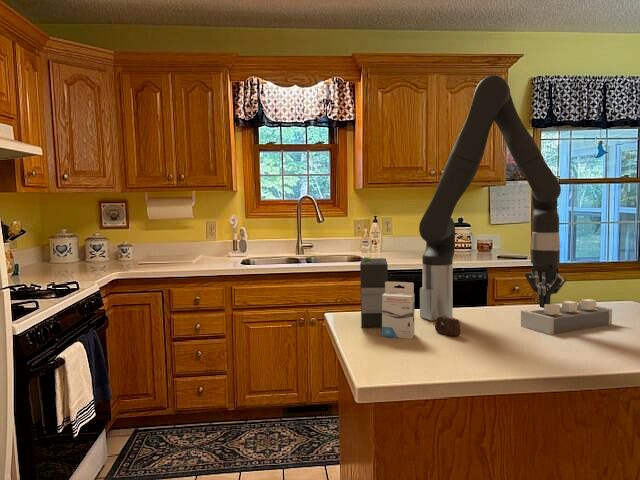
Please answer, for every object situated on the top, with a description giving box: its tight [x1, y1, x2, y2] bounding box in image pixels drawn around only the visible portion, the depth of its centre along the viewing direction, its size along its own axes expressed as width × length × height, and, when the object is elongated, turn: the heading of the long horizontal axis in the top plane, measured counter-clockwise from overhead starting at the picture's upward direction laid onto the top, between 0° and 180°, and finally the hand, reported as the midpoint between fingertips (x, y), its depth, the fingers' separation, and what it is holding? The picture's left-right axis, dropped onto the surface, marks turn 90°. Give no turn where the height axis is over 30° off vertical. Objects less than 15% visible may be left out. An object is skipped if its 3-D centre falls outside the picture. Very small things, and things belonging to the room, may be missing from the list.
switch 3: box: [580, 298, 597, 310], centre depth 144 cm, size 3×2×2 cm
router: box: [359, 256, 389, 329], centre depth 152 cm, size 8×18×20 cm, turn 174°
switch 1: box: [543, 302, 561, 315], centre depth 139 cm, size 3×2×2 cm
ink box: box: [381, 281, 415, 340], centre depth 136 cm, size 8×5×15 cm, turn 72°
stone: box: [434, 316, 461, 337], centre depth 136 cm, size 8×3×5 cm, turn 33°
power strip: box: [520, 301, 613, 335], centre depth 143 cm, size 24×10×5 cm, turn 113°
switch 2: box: [561, 300, 578, 312], centre depth 142 cm, size 3×2×2 cm
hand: (544, 307), depth 142 cm, fingers closed
